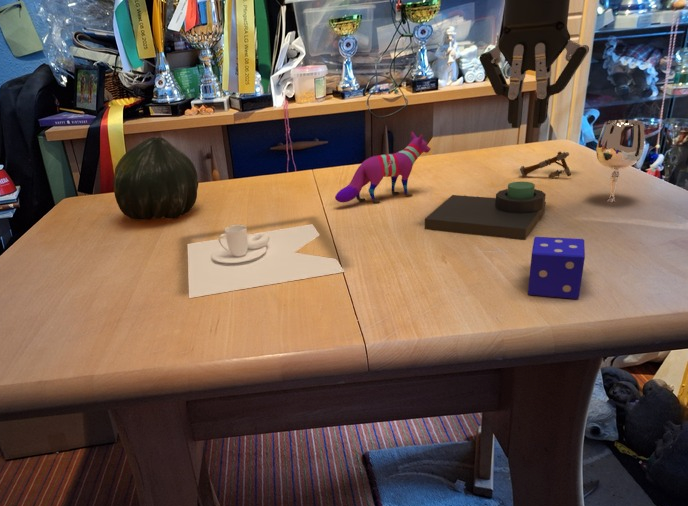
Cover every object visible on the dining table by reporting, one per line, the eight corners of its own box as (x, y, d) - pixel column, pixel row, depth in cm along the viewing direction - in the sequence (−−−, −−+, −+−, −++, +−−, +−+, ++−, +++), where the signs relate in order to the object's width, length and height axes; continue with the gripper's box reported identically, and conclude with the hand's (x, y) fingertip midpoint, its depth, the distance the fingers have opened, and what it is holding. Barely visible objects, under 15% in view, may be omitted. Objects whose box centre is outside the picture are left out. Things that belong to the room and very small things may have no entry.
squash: (112, 181, 106) (100, 128, 93) (190, 171, 110) (190, 118, 97) (125, 246, 101) (114, 199, 88) (206, 232, 105) (208, 185, 92)
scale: (546, 212, 83) (549, 189, 82) (527, 240, 75) (529, 215, 73) (452, 204, 91) (453, 183, 89) (424, 229, 82) (424, 206, 81)
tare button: (536, 193, 82) (537, 182, 81) (530, 201, 79) (531, 189, 78) (510, 192, 84) (511, 180, 83) (504, 199, 81) (504, 187, 80)
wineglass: (589, 212, 81) (602, 127, 76) (587, 200, 86) (598, 119, 81) (635, 213, 79) (651, 126, 74) (630, 200, 84) (644, 118, 79)
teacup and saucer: (268, 240, 85) (264, 214, 83) (276, 259, 78) (272, 231, 76) (210, 249, 84) (206, 223, 82) (213, 269, 77) (208, 242, 75)
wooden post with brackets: (575, 174, 95) (566, 150, 94) (528, 191, 100) (519, 167, 99) (577, 171, 97) (568, 147, 96) (530, 188, 102) (521, 165, 101)
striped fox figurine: (435, 192, 98) (436, 132, 93) (340, 212, 93) (336, 149, 89) (424, 187, 101) (425, 129, 96) (332, 206, 97) (327, 145, 92)
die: (578, 280, 63) (584, 238, 61) (578, 299, 59) (585, 256, 57) (530, 276, 65) (534, 236, 63) (527, 295, 61) (531, 253, 59)
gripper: (605, -25, 68) (586, 121, 76) (490, -11, 76) (483, 121, 83) (596, -25, 63) (576, 133, 71) (472, -9, 70) (467, 132, 78)
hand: (526, 126), depth 77 cm, fingers closed
